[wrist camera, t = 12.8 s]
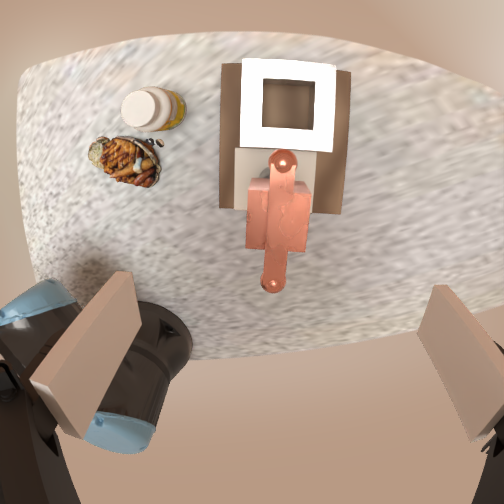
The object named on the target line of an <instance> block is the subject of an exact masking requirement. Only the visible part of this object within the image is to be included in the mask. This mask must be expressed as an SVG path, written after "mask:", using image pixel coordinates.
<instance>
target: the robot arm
mask: <svg viewBox="0 0 504 504" xmlns="http://www.w3.org/2000/svg"><path fill="white" fill-rule="evenodd" d="M417 335H418V337H419V339H420V340H421V342H422V344H423V346H424V347H425V349H426V351H427V353H428V355H429V357H430V358H431V360H432V362H433V364H434V366H435V368H436V370H437V372H438V374H439V376H440V378H441V380H442V382H443V384H444V386H445V388H446V390H447V392H448V394H449V396H450V398H451V400H452V402H453V404H454V406H455V409H456V411H457V413H458V415H459V417H460V419H461V422H462V424H463V426H464V428H465V431H466V433H467V435H468V438H469V440H470V443H472V442H475V441H477V440H480V439H483V438H485V437H486V436H487V435H488V434H489V433H490V431H491V430H492V429H493V428H494V429H495V431H496V434H495V435H494V436H493V437H492V438H491V439H490V440H489V441H488V442H487V443H486V445H485V446H484V447H483V448H482V450H481V452H483V451H484V450H485V449H486V448H487V447H488V446H490V448H489V450H488V451H487V452H486V454H488V455H487V459H486V463H485V466H484V469H483V473H482V476H481V479H480V482H479V485H478V488H477V490H476V493H475V496H474V499H473V502H472V504H504V349H503V348H502V347H501V346H500V345H498V344H497V343H496V342H495V341H493V340H492V339H491V338H490V336H489V335H488V334H487V332H486V331H485V330H484V328H483V327H482V326H481V325H480V324H479V322H478V321H477V320H476V318H475V317H474V316H473V315H472V313H471V312H470V311H469V310H468V309H467V307H466V306H465V305H464V304H463V303H462V301H461V300H460V299H459V298H458V297H457V296H456V294H455V293H454V292H453V291H452V290H451V289H450V288H449V287H448V285H434V287H433V290H432V293H431V296H430V299H429V302H428V305H427V308H426V311H425V314H424V316H423V319H422V322H421V324H420V327H419V330H418V332H417ZM191 350H192V339H191V336H190V333H189V331H188V329H187V328H186V326H185V325H184V324H183V322H182V321H181V320H180V319H179V318H178V317H176V316H175V315H174V314H173V313H171V312H170V311H168V310H166V309H165V308H162V307H160V306H158V305H155V304H151V303H146V302H137V298H136V292H135V287H134V281H133V275H132V272H124V271H116V272H115V273H114V274H113V275H112V277H111V278H110V279H109V280H108V281H107V282H106V283H105V284H104V286H103V287H102V288H101V289H100V290H99V291H98V292H97V294H96V295H95V296H94V297H93V298H92V299H91V301H90V302H89V303H88V304H87V305H86V307H85V308H84V309H82V308H81V307H80V305H79V304H78V303H77V299H76V298H73V297H72V295H71V294H70V293H69V292H68V291H67V289H66V288H65V287H64V286H63V284H62V283H61V282H60V281H59V280H57V279H55V278H47V279H45V280H43V281H41V282H39V283H38V284H36V285H35V286H33V287H31V288H30V289H28V290H27V291H26V292H24V293H22V294H21V295H19V296H18V297H17V298H15V299H14V300H12V301H11V302H10V303H8V304H7V305H6V306H5V307H3V308H2V309H1V310H0V504H81V502H80V500H79V498H78V495H77V493H76V490H75V488H74V485H73V482H72V480H71V477H70V474H69V471H68V468H67V465H66V462H65V459H64V456H63V453H62V449H61V446H60V442H59V439H58V436H57V434H56V432H55V428H56V426H57V424H59V426H60V427H61V428H62V430H63V431H64V433H66V434H68V435H71V436H74V437H77V438H79V439H82V440H85V441H87V442H89V443H91V444H93V445H95V446H97V447H100V448H103V449H106V450H109V451H112V452H116V453H122V454H136V453H140V452H142V451H144V450H145V449H146V448H147V447H148V445H149V442H150V440H151V438H152V435H153V433H154V432H155V431H156V425H157V421H158V419H159V415H160V412H161V409H162V406H163V402H164V399H165V396H166V393H167V390H168V386H169V384H170V381H171V380H172V379H173V378H174V377H175V376H176V375H177V374H178V373H179V371H180V370H181V369H182V368H183V367H184V366H185V365H186V363H187V362H188V359H189V356H190V353H191Z"/></svg>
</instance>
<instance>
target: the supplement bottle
mask: <svg viewBox="0 0 504 504" xmlns="http://www.w3.org/2000/svg"><path fill="white" fill-rule="evenodd" d="M185 114H186V105H185V102H184V100H183V98H182V97H181V96H180V95H179V94H177V93H175V92H173V91H169V90H165V89H161V88H158V87H145V88H142V89H140V90H138V91H134V92H132V93H130V94H129V95H128V96H127V97H126V98H125V99H124V101H123V103H122V106H121V115H122V118H123V120H124V122H125V123H126V124H128V125H129V126H132V127H134V128H135V129H137V130H139V131H142V132H154V131H163V130H170V129H172V128H174V127H176V126H177V125H179V124H180V123H181V122H182V121H183V119H184V117H185Z"/></svg>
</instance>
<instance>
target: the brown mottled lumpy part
mask: <svg viewBox="0 0 504 504" xmlns="http://www.w3.org/2000/svg"><path fill="white" fill-rule="evenodd" d="M149 140H150V141H151V143H149V142H148V139H146V141H145V143H144V142H143V141H141V140H138V139H135V138H132V137H129V136H127V137H119V136H117V137H115V138H113V139H112V140H111V141H110V140H109V138H106V137H99V138H97V139H96V141H97V142H93V143H92V144H91V145H90V147H89V153H88V157H89V160H91V161H93V163H92V164H93V165H94V166H96V167H98V168H101V169H104V172H105V173H107V174H110V178H116V181H117V182H119V181H120V182H124V183H128V184H134V185H135V186H142V187H146V188H149V187H151V186H153V185H154V184H155V183H156V182H157V181H158V173H159V172H160V170H161V168H160V166H158V159H157V157H156V156H155V154H154V152H153V151H154V150H153V148H152V147H151V146H153V145H155V144H154V140H153V139H152V138H149ZM102 141H103V143H102ZM156 143H157V145H159V147H163V146H164V142H163V141H162V140H161V139H157V140H156Z"/></svg>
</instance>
